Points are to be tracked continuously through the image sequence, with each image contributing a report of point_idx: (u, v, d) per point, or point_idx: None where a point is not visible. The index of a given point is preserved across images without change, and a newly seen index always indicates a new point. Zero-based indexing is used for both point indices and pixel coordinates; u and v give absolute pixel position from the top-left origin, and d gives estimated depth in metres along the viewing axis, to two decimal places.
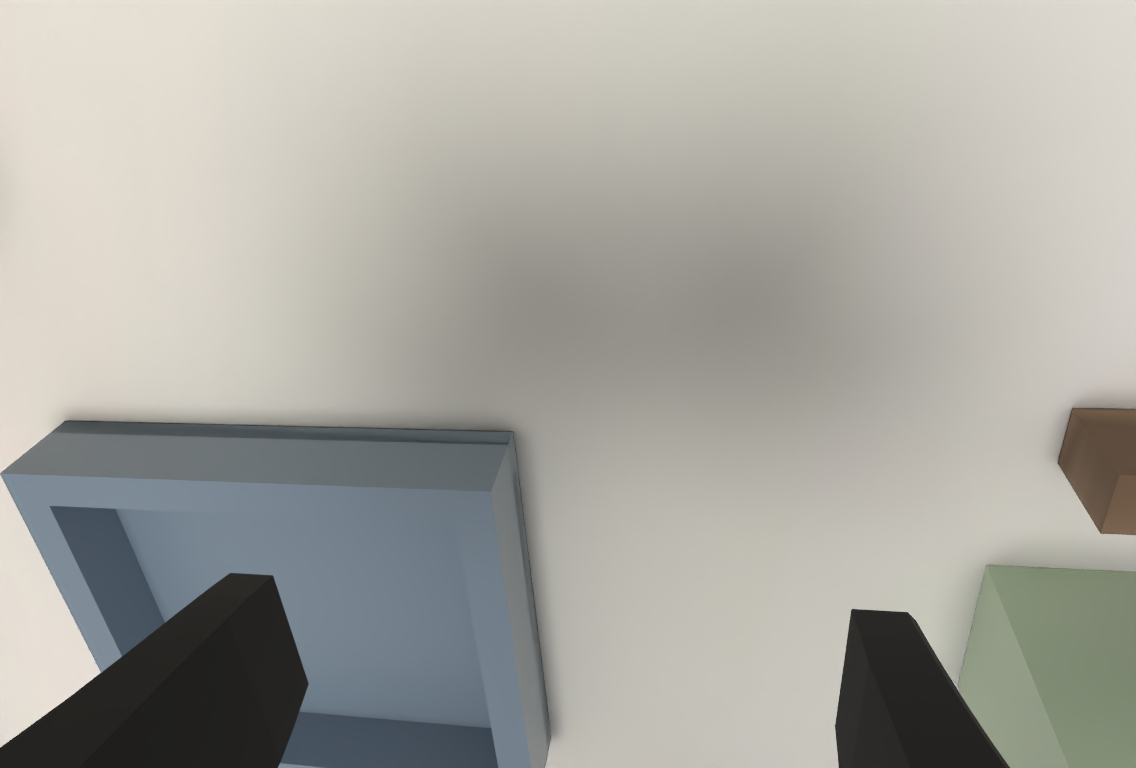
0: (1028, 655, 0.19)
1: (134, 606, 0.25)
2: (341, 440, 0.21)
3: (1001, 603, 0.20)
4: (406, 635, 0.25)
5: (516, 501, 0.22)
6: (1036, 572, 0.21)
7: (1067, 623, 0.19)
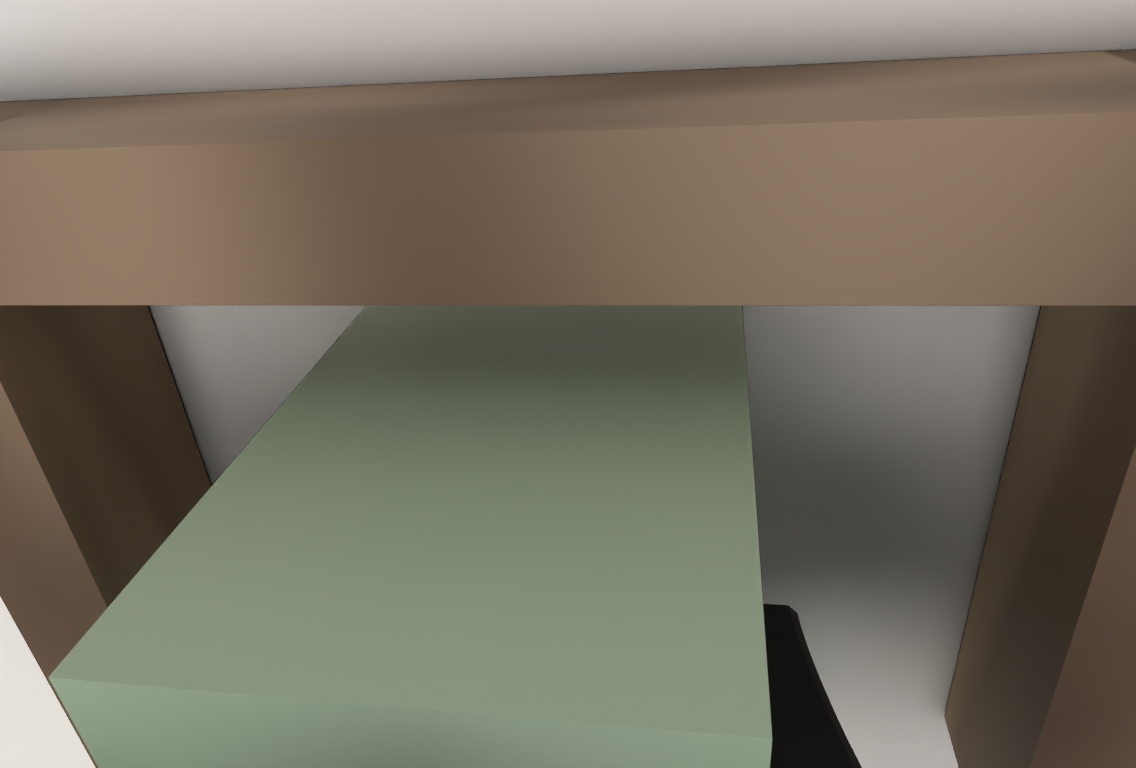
0: None
1: None
2: None
3: None
4: None
5: None
6: None
7: None
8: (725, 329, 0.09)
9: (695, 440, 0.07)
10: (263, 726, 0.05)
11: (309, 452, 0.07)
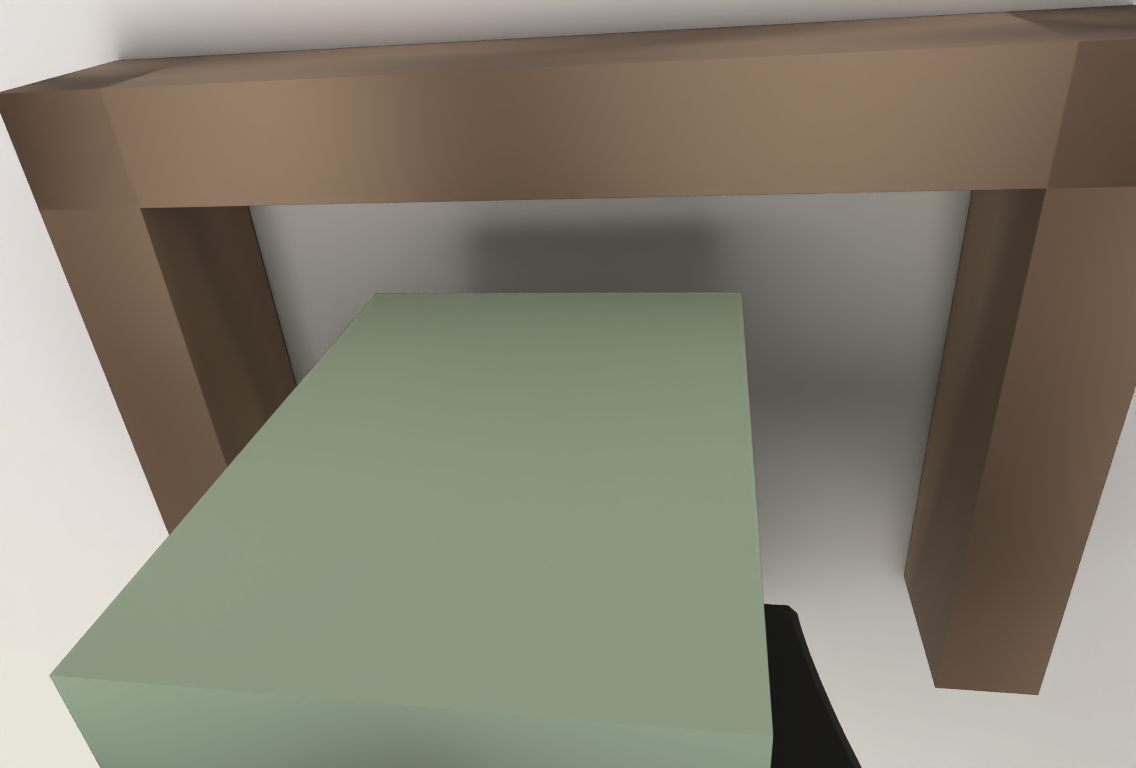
0: None
1: None
2: None
3: None
4: None
5: None
6: None
7: None
8: (726, 328, 0.09)
9: (695, 440, 0.07)
10: (265, 723, 0.05)
11: (309, 450, 0.07)
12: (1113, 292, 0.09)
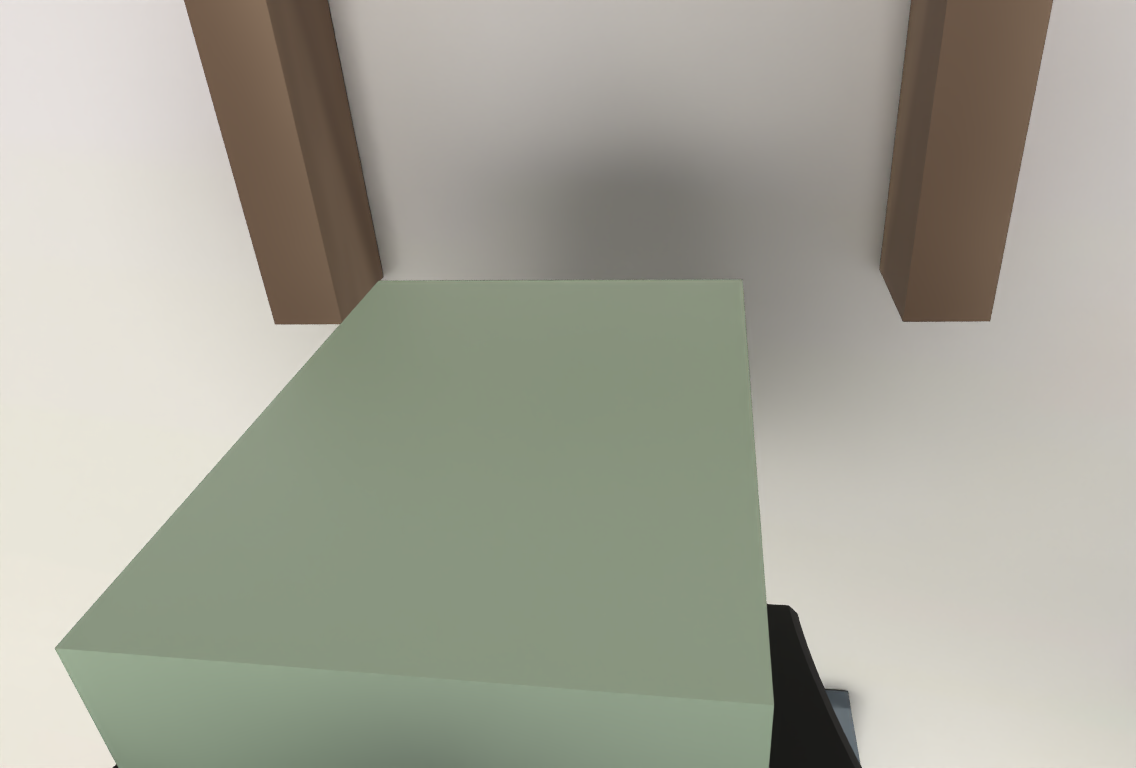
0: None
1: None
2: None
3: None
4: None
5: None
6: None
7: None
8: (726, 314, 0.09)
9: (696, 421, 0.07)
10: (269, 696, 0.05)
11: (312, 432, 0.07)
12: None
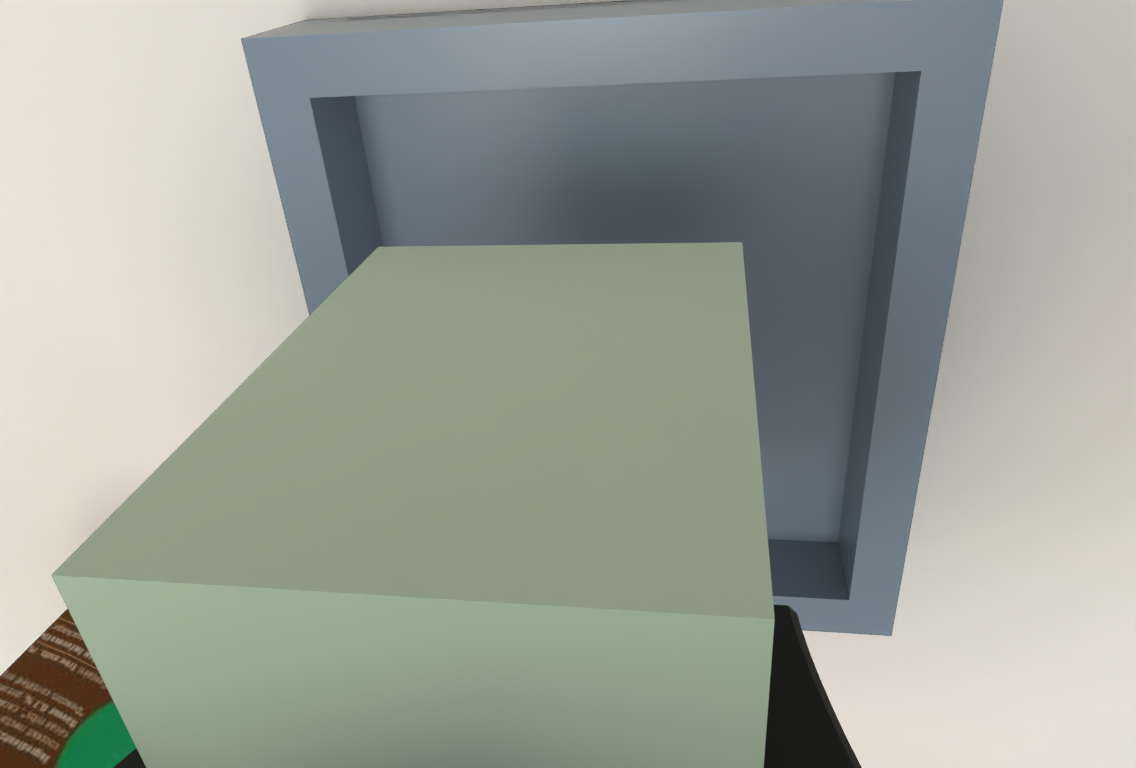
0: None
1: None
2: None
3: None
4: (666, 217, 0.16)
5: (386, 18, 0.15)
6: None
7: None
8: (725, 273, 0.09)
9: (697, 367, 0.07)
10: (266, 622, 0.05)
11: (312, 380, 0.07)
12: None
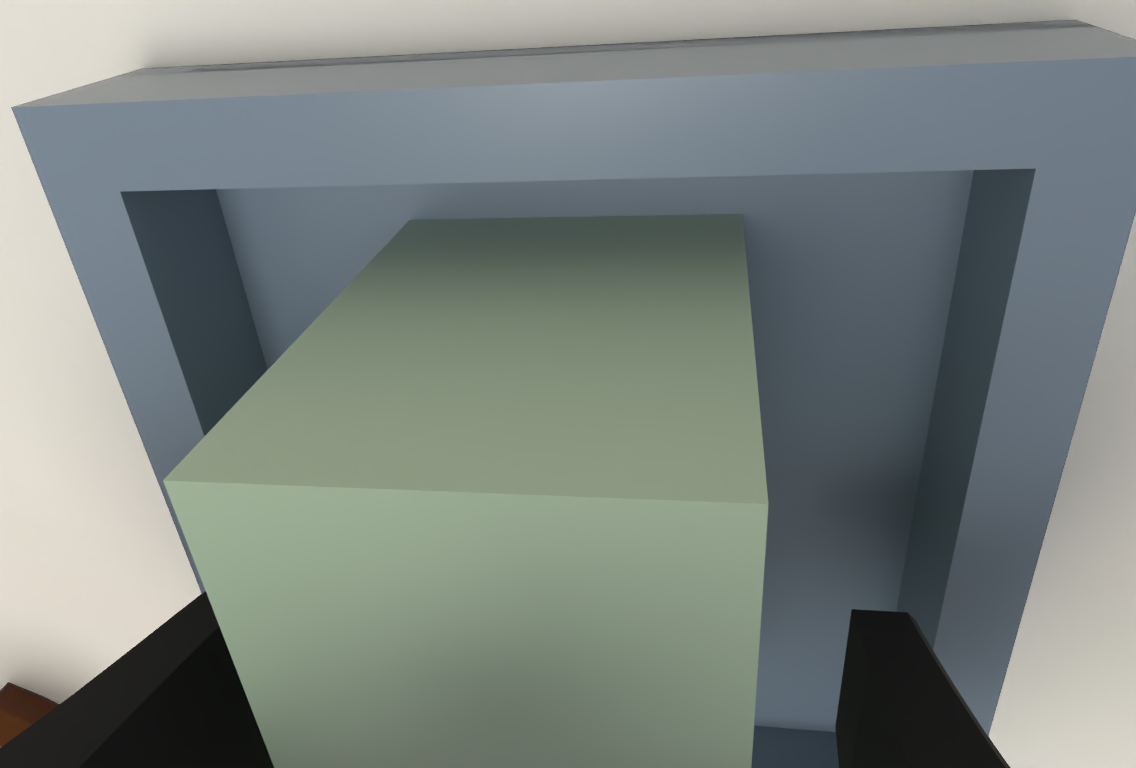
0: None
1: None
2: None
3: None
4: None
5: (248, 69, 0.11)
6: None
7: None
8: (727, 240, 0.10)
9: (702, 317, 0.08)
10: (344, 518, 0.06)
11: (363, 331, 0.08)
12: None
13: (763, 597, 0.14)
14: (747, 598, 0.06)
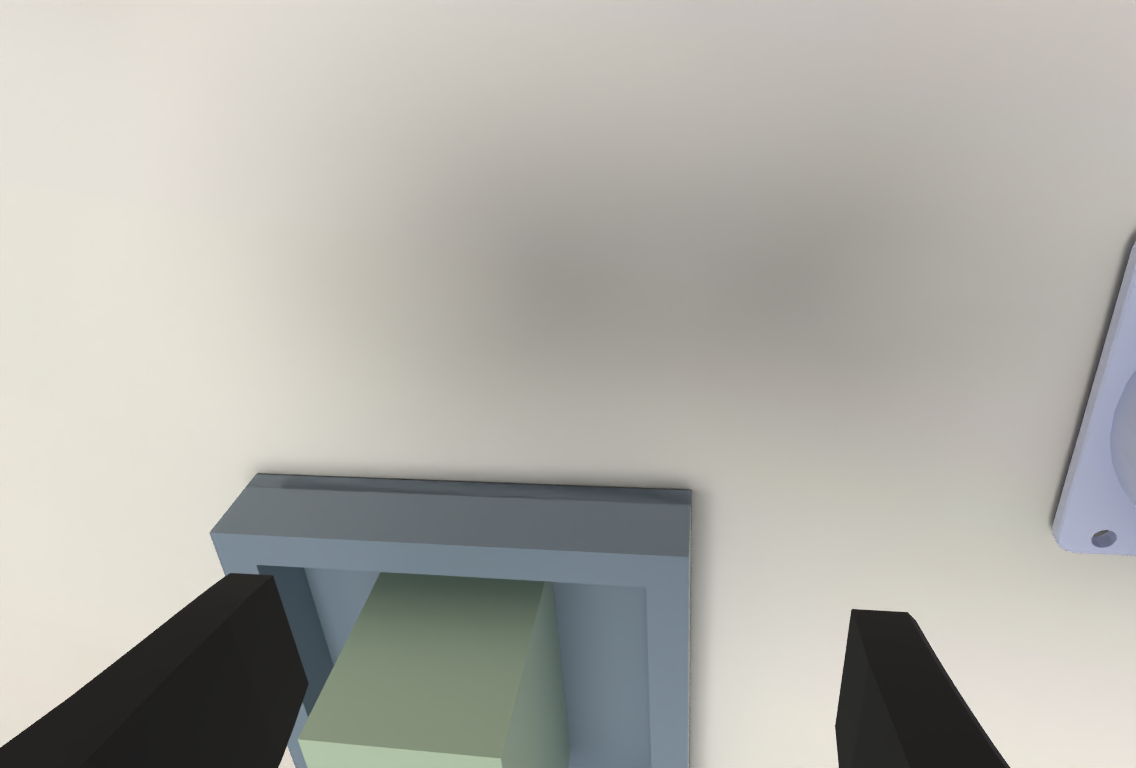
0: None
1: None
2: None
3: None
4: None
5: (311, 487, 0.22)
6: None
7: None
8: (536, 584, 0.21)
9: (508, 648, 0.20)
10: (362, 754, 0.18)
11: (368, 649, 0.20)
12: None
13: (586, 726, 0.25)
14: None
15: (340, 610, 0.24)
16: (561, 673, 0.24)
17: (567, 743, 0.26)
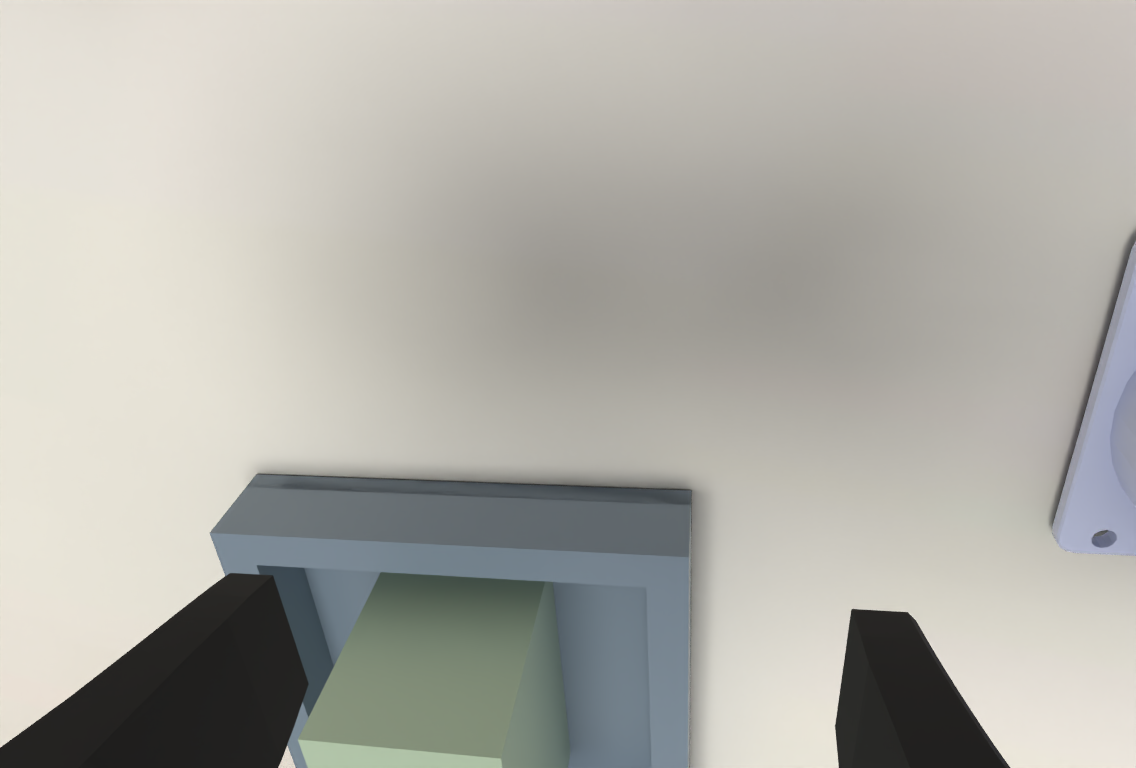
0: None
1: None
2: None
3: None
4: None
5: (311, 487, 0.22)
6: None
7: None
8: (536, 584, 0.21)
9: (508, 648, 0.20)
10: (362, 753, 0.18)
11: (368, 649, 0.20)
12: None
13: (586, 726, 0.25)
14: None
15: (340, 610, 0.24)
16: (561, 673, 0.24)
17: (567, 743, 0.26)
